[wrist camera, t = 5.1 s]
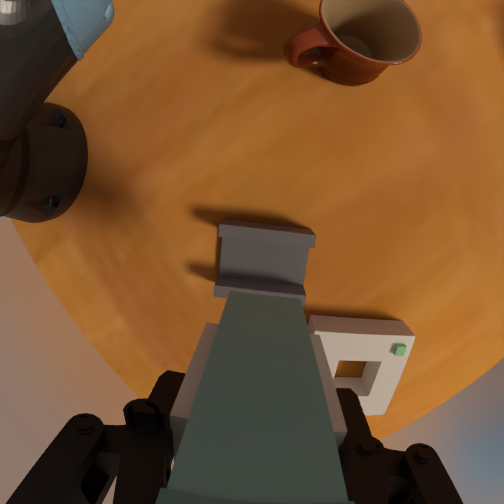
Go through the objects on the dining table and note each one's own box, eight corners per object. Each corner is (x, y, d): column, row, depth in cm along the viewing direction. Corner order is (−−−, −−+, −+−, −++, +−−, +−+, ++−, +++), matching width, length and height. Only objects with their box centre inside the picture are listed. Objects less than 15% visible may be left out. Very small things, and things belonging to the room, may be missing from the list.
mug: (359, 21, 25) (387, -24, 16) (395, 84, 27) (439, 55, 17) (264, 48, 27) (262, 0, 17) (299, 116, 29) (314, 88, 19)
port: (292, 394, 37) (294, 418, 32) (310, 314, 34) (315, 333, 29) (376, 396, 36) (385, 417, 32) (403, 320, 34) (417, 338, 29)
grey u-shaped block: (219, 284, 34) (213, 296, 30) (224, 219, 32) (219, 224, 28) (300, 293, 33) (304, 306, 30) (310, 228, 32) (315, 235, 28)
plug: (223, 351, 18) (168, 571, 5) (228, 288, 17) (146, 529, 4) (290, 359, 18) (310, 582, 4) (302, 297, 17) (362, 541, 4)
